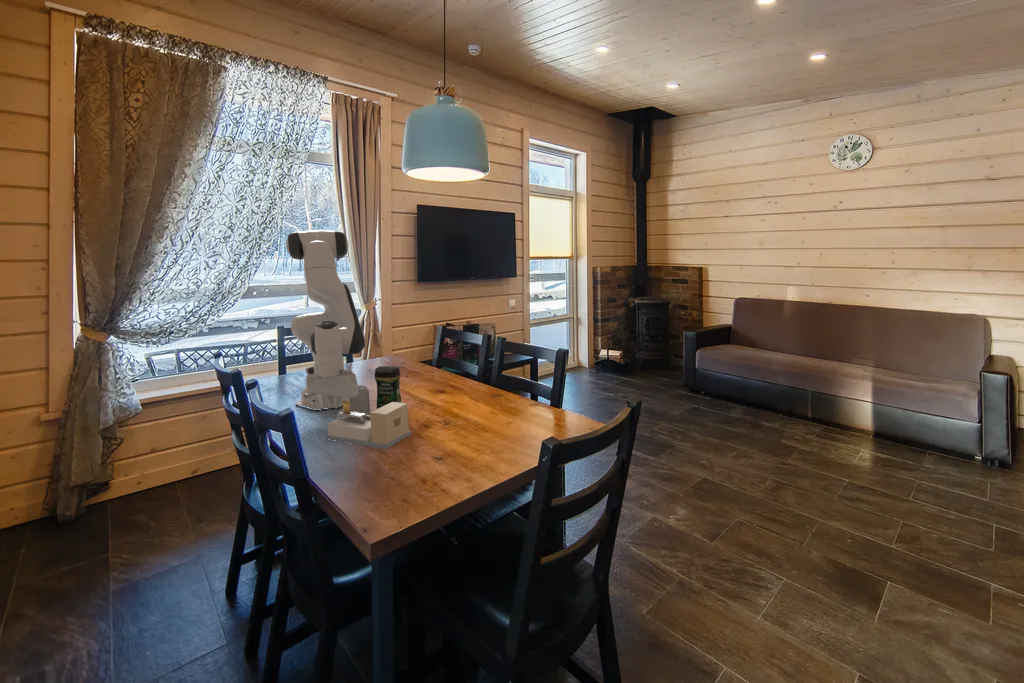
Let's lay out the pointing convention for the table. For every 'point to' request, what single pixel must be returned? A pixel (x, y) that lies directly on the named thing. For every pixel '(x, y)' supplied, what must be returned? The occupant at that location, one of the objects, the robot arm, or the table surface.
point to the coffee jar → (387, 385)
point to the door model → (373, 427)
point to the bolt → (348, 414)
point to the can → (361, 401)
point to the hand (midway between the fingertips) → (334, 407)
